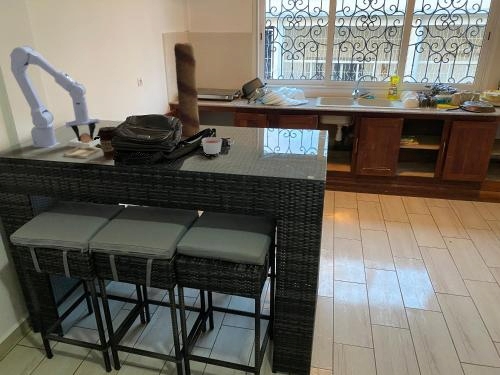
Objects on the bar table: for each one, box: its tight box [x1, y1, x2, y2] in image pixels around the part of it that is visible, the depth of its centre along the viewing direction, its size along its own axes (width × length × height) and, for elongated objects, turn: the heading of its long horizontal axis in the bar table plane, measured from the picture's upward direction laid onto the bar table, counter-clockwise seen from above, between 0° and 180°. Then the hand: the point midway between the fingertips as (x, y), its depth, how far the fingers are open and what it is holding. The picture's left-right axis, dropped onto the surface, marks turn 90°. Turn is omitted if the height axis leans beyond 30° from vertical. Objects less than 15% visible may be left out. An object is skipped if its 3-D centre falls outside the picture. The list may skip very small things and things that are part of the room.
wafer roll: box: [173, 42, 201, 137], centre depth 196 cm, size 10×11×45 cm
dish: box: [67, 135, 100, 148], centre depth 186 cm, size 11×11×2 cm
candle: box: [201, 136, 223, 155], centre depth 176 cm, size 9×9×6 cm
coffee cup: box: [97, 126, 120, 160], centre depth 168 cm, size 9×8×13 cm
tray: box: [63, 146, 102, 159], centre depth 173 cm, size 11×11×2 cm
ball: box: [79, 132, 91, 143], centre depth 185 cm, size 5×5×5 cm
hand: (85, 140), depth 185 cm, fingers closed on ball, 5 cm apart
